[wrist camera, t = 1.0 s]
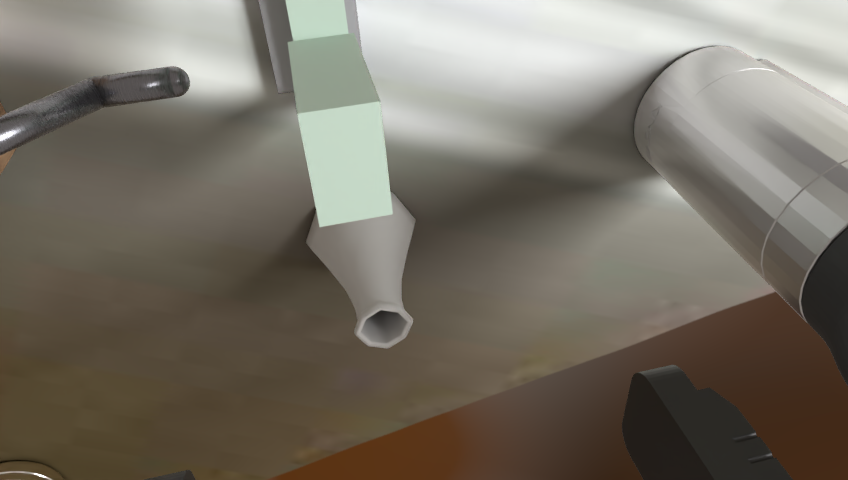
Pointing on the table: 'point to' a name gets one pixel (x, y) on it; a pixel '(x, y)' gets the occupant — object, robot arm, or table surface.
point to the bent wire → (88, 102)
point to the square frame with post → (331, 105)
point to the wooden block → (3, 159)
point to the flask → (370, 270)
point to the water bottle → (27, 471)
